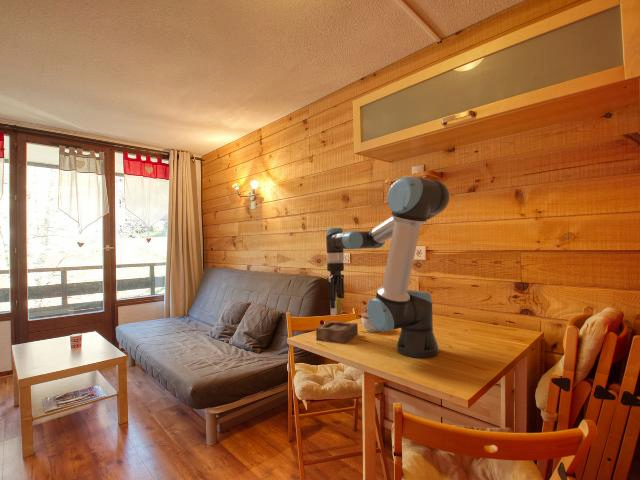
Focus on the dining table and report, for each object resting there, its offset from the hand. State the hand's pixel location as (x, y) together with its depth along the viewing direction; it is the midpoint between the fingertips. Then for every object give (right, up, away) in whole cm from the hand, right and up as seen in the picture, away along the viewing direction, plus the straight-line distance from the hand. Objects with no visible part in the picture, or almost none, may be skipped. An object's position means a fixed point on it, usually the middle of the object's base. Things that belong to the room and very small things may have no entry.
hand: (336, 313), depth 146 cm
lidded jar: (+18, -10, +10) cm, 23 cm away
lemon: (0, 0, 0) cm, 0 cm away
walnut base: (0, -10, 0) cm, 10 cm away
